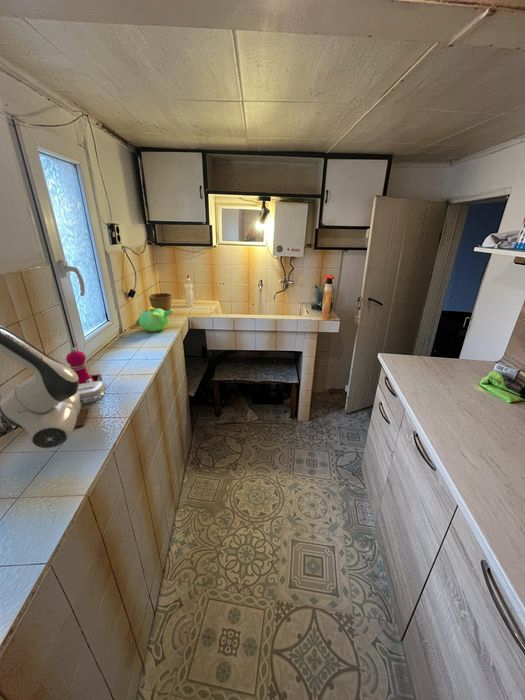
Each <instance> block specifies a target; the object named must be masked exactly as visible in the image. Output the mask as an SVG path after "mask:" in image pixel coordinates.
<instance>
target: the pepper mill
mask: <svg viewBox="0 0 525 700" xmlns="http://www.w3.org/2000/svg"><path fill="white" fill-rule="evenodd" d="M65 359H66V363H67V364H68V365H69V367H70V368H71V369H72V370H74V371H75V372H76V374H77V375H78V377H79V384H83V383H86V379H92V381H93V382H95V381H94V379H93V378H92V377H91V375H90V374H89V372H88V371H87V362H86V359H87V357H86V355H85V353H84V352H83V351H82V350H77V348H76V347H72V348H71V349H70V352H68V353H67V354H66V358H65Z"/></svg>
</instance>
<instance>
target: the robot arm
mask: <svg viewBox="0 0 525 700" xmlns="http://www.w3.org/2000/svg"><path fill="white" fill-rule="evenodd" d="M0 353H2V354H4V355H6V356H7V357H9V358H10V359H12V360H14V361H15V362H17V363H18V364H20V365H21V366H23V367H25V368H27V370H30V371H31V372H32V373H33V374H32V375H31V376H30V377H28V378H27V379H25V380H24V381H23V382H21V383H20V384H17V385H16V386H15V387H13V388H11V390H9V391H8V392H6V393H5V394H4V395H2V396H1V397H0V415H1V418H2V419H3V420H4V421H6V422H7V423H8V424H9V425H12V426H14V427H16V428H19V429H22V430H24V431H25V432H26V433H27V435H28V437H29V439H30V441H31V443H32V444H33V445H35V446H36V447H38V448H41V449H51V448H56V447H59V446H61V445H62V444H64V443H65V442H66V441H67V440H68V439H69V438H70V436H71V435H72V434H73V431H74V430H75V428H74V427H75V424H76V421H77V417H78V415H79V412H80V410H81V409H82V406H83V404H85V403H86V404H87V403H92V402H96V401H99V400H101V399H102V398H103V397H104V395H105V392H106V385H105V382H104V380H103V381H95V382H93V381H92V379H86V383H83V384H79V377H78V375H77V374H76V372H75V371H74V370H72V369H71V367H70V366H69V365H67V364H65V363H63V362H60V361H58V360H56V359H55V358H53V357H51V356H50V355H48V354H47V353H45V352H44V351H42V350H41V349H39V348H38V347H36V346H34V345H33V344H31V343H30V342H29V341H27V340H26V339H24V338H22V337H21V336H19V335H18V334H16V333H15V332H13V331H12V330H9V329H8V328H7V327H5V326H3V325H1V324H0Z"/></svg>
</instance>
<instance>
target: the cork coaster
mask: <svg viewBox="0 0 525 700" xmlns="http://www.w3.org/2000/svg"><path fill="white" fill-rule="evenodd" d="M88 411H89V408H88V407H86V408H85V407H84V408H81V410H80V412H79V415H78V417H77V421H76V424H75V427H74V429H76V428H80V427H84V424H85V421H86V418H87V414H88Z"/></svg>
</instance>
